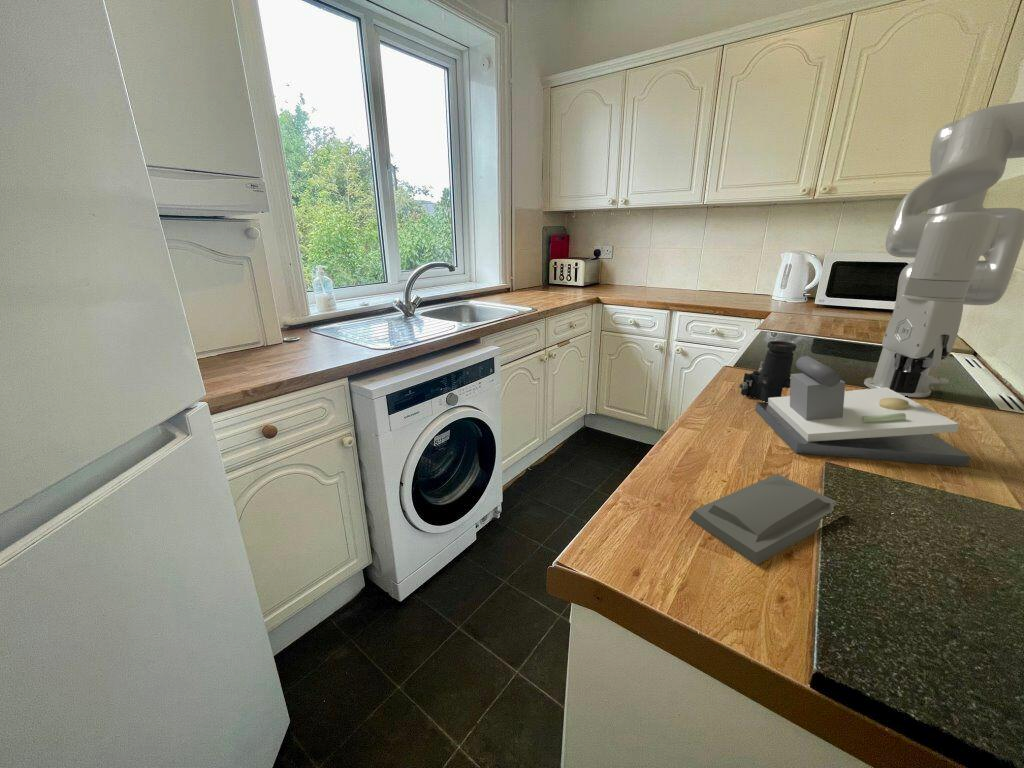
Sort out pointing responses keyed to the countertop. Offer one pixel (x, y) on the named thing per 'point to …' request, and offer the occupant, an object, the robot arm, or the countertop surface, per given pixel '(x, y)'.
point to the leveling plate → (851, 408)
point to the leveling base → (868, 444)
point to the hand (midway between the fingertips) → (901, 391)
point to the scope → (770, 372)
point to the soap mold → (764, 517)
